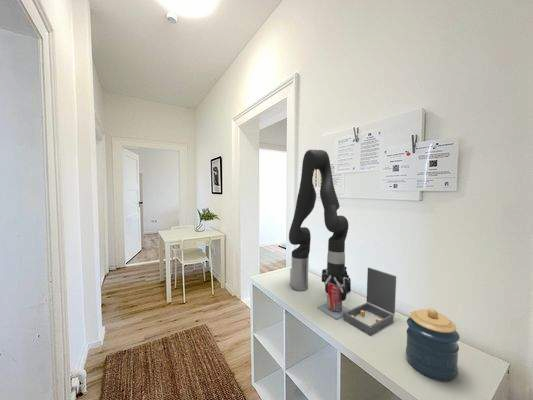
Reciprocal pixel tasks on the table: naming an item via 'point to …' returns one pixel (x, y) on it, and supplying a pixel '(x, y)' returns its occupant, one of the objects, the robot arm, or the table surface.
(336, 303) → the beverage can
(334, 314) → the rubber mat
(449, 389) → the table surface
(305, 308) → the table surface
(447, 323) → the canister
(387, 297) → the case
